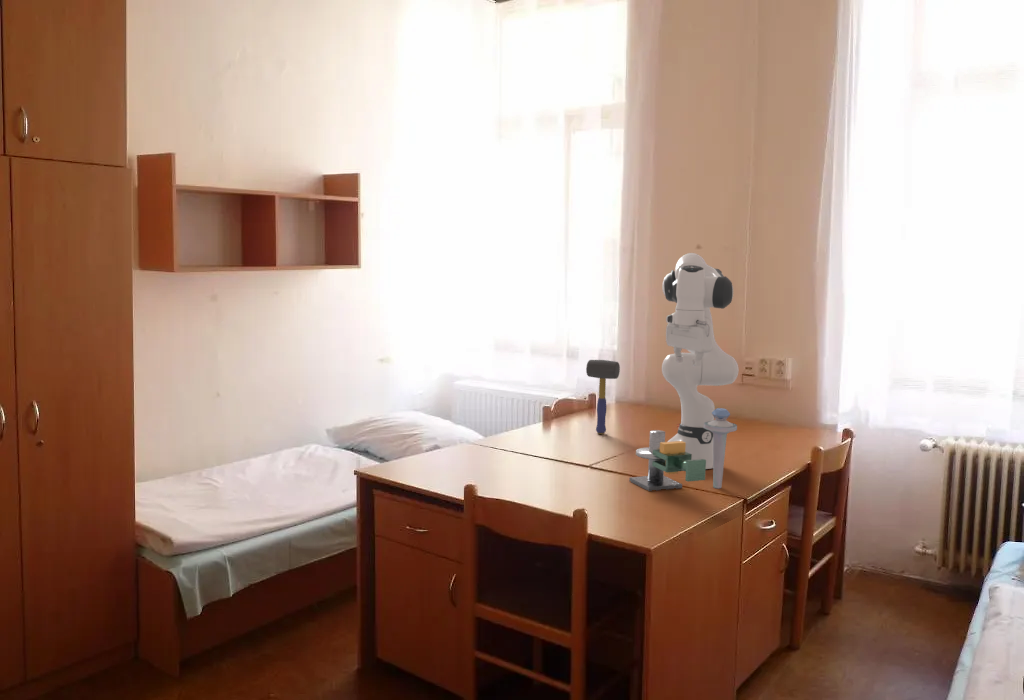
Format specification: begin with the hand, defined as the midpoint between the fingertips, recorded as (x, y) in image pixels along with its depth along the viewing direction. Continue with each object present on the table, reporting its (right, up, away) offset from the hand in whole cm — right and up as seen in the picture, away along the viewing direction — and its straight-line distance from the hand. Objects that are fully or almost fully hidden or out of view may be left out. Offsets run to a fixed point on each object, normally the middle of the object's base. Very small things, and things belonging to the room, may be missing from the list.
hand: (687, 363), depth 266 cm
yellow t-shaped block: (-5, -33, -1) cm, 34 cm away
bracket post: (-6, -39, +1) cm, 40 cm away
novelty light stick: (+11, -39, +6) cm, 41 cm away
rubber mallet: (-18, -30, +82) cm, 89 cm away
